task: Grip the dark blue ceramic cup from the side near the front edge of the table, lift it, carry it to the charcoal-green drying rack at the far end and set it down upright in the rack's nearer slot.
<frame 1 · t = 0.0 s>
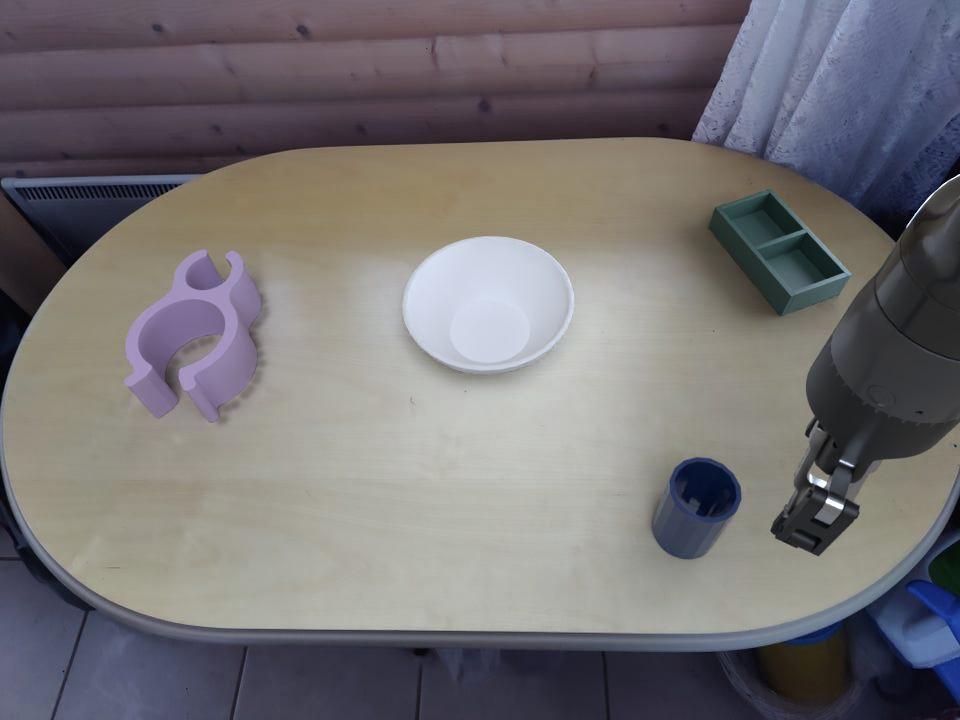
hand: (803, 484, 49), 20 cm above the table, tool pointing down, fingers open, 8 cm apart
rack: (771, 260, 87), on the table
clip: (213, 350, 84), on the table
cup: (683, 529, 68), on the table
bowl: (490, 334, 83), on the table
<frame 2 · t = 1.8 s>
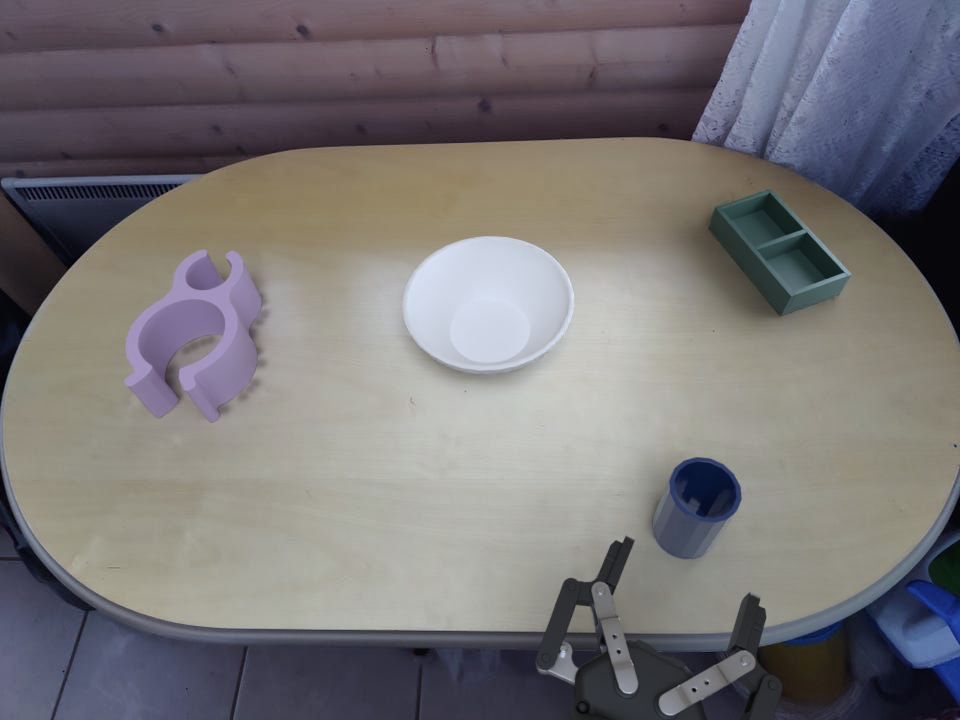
hand: (688, 568, 46), 20 cm above the table, tool horizontal, fingers open, 8 cm apart
nothing on the table moved.
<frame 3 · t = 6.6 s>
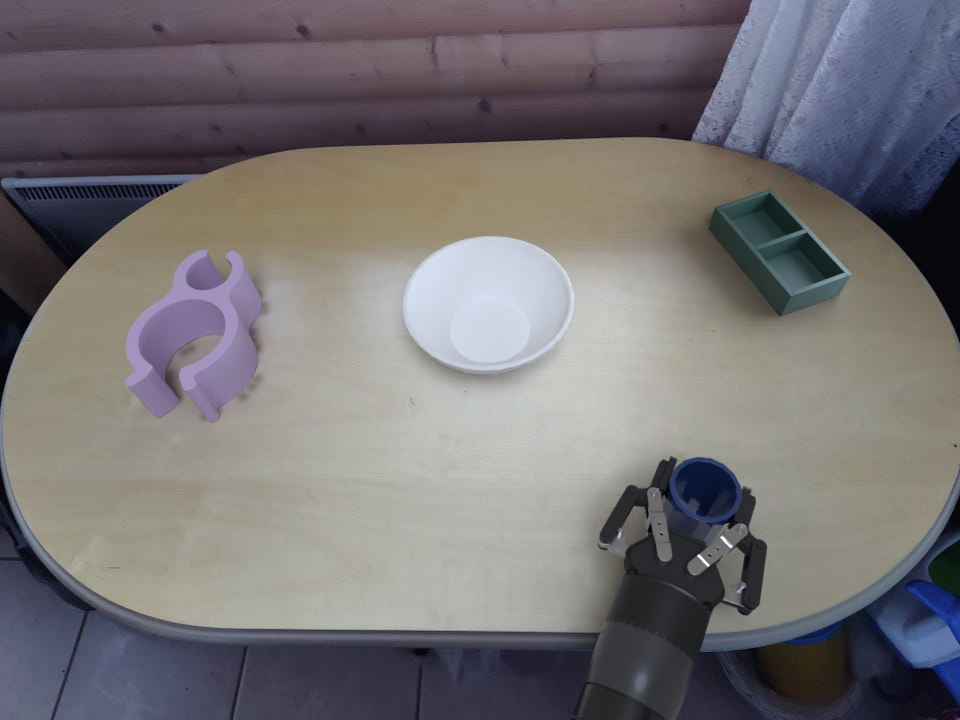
hand: (708, 475, 62), 8 cm above the table, tool horizontal, fingers closed on cup, 6 cm apart
cup: (683, 529, 68), on the table, touching gripper
everything else where it was.
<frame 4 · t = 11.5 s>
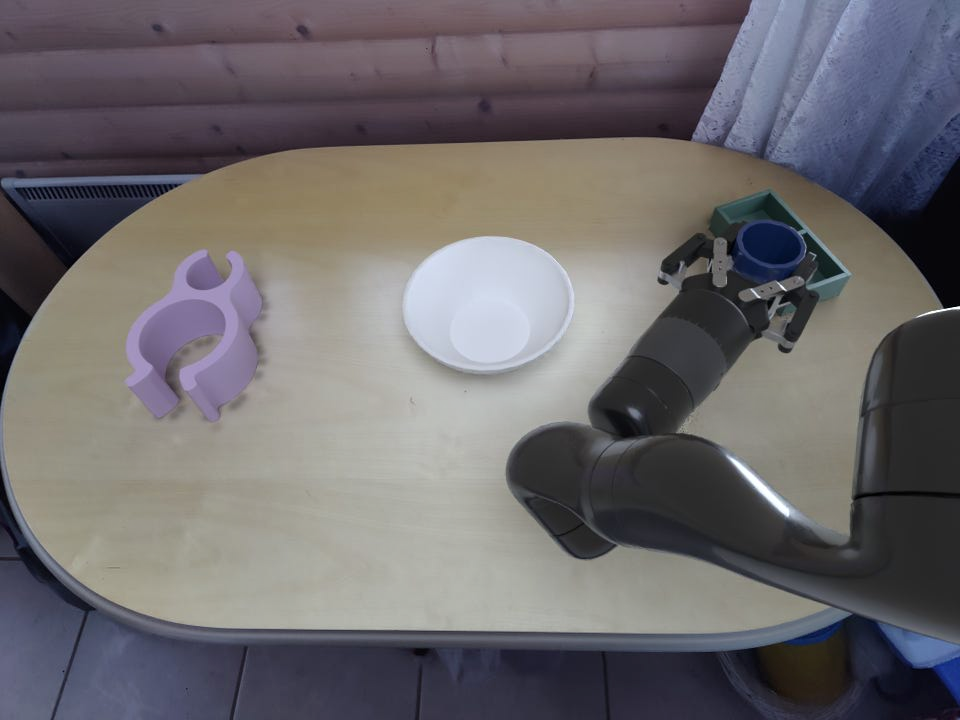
hand: (776, 243, 65), 17 cm above the table, tool horizontal, fingers closed on cup, 6 cm apart
cup: (740, 310, 71), point 9 cm above the table, touching gripper
everything else where it was.
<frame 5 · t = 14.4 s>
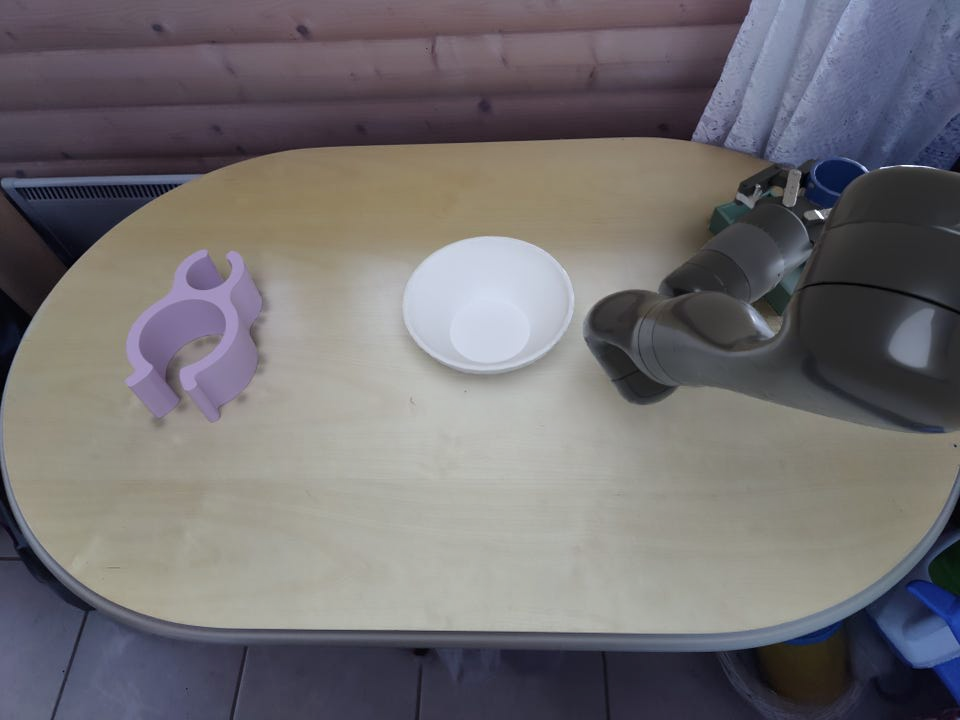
hand: (846, 180, 73), 15 cm above the table, tool horizontal, fingers closed on cup, 6 cm apart
cup: (807, 243, 79), point 7 cm above the table, touching gripper
everything else where it was.
when the fingers open (9 cm above the table, at t = 16.6 s): cup stays where it is, resting on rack.
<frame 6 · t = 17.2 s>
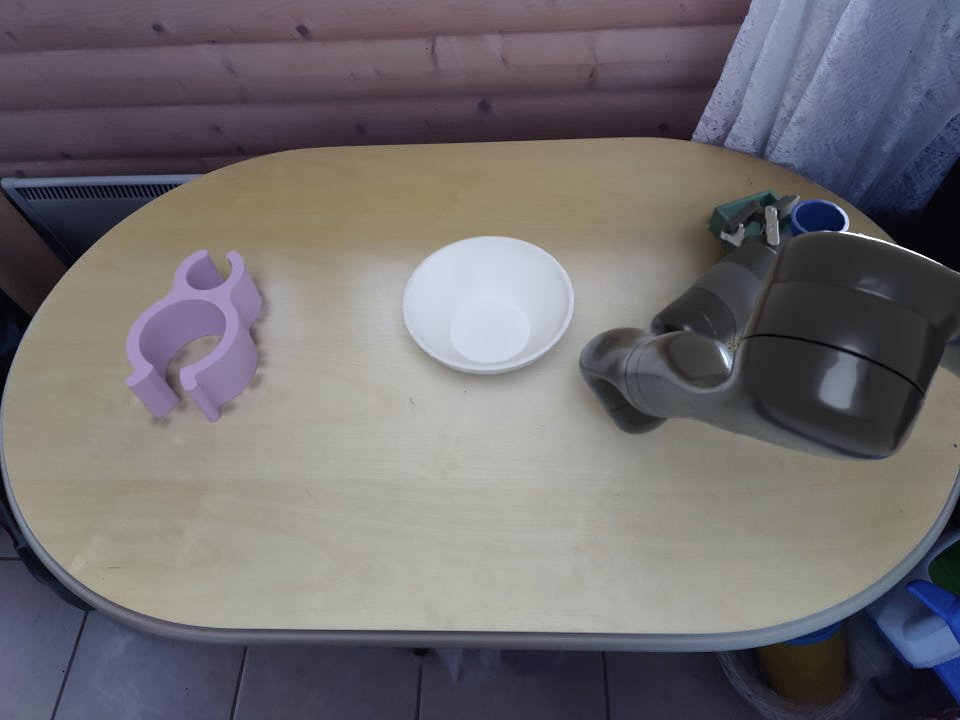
hand: (826, 219, 78), 9 cm above the table, tool horizontal, fingers open, 8 cm apart
cup: (790, 277, 84), point 1 cm above the table, touching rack
everything else where it was.
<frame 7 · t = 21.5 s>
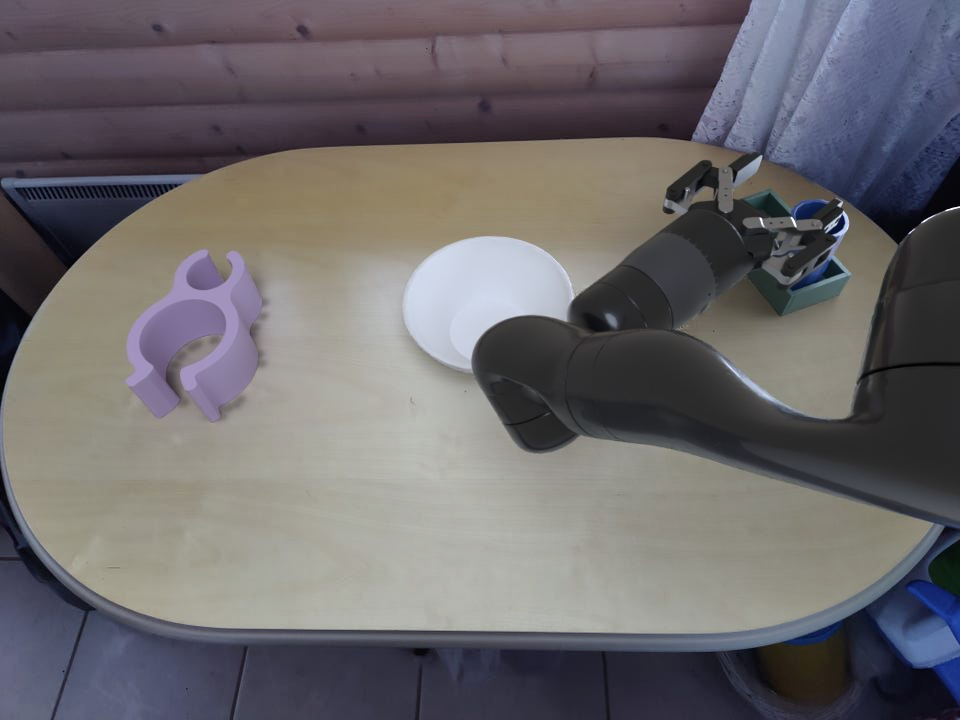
hand: (795, 183, 63), 23 cm above the table, tool horizontal, fingers open, 8 cm apart
nothing on the table moved.
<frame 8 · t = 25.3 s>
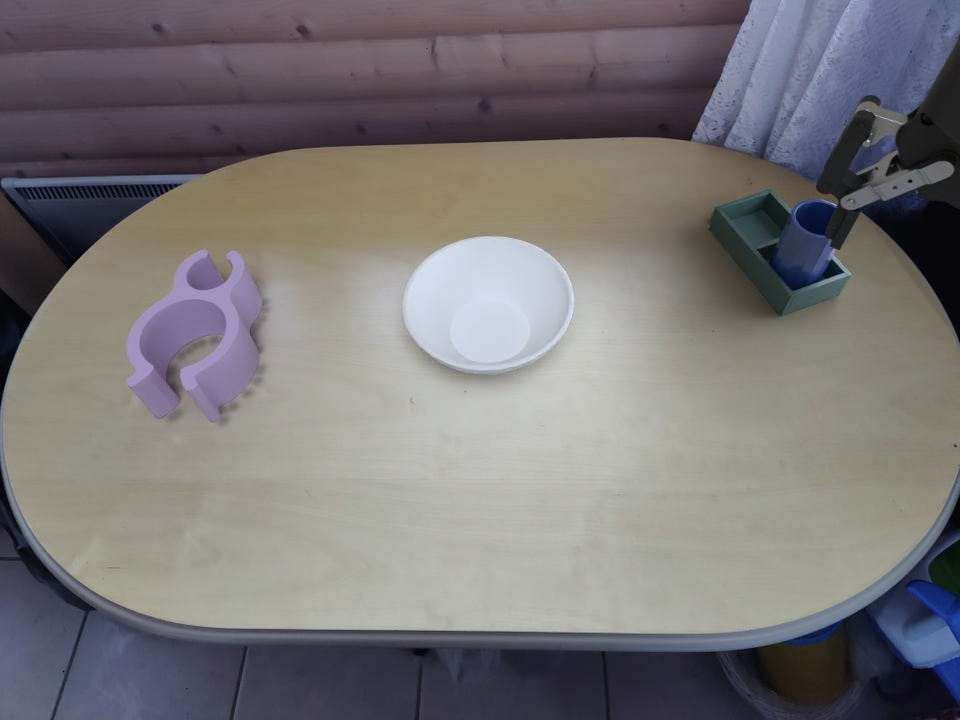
hand: (900, 261, 47), 30 cm above the table, tool pointing down, fingers open, 8 cm apart
nothing on the table moved.
at the end: cup 0.1 cm from the target spot in the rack, point 0.8 cm above the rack's base; cup tilted 0°; the gripper is holding nothing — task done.
